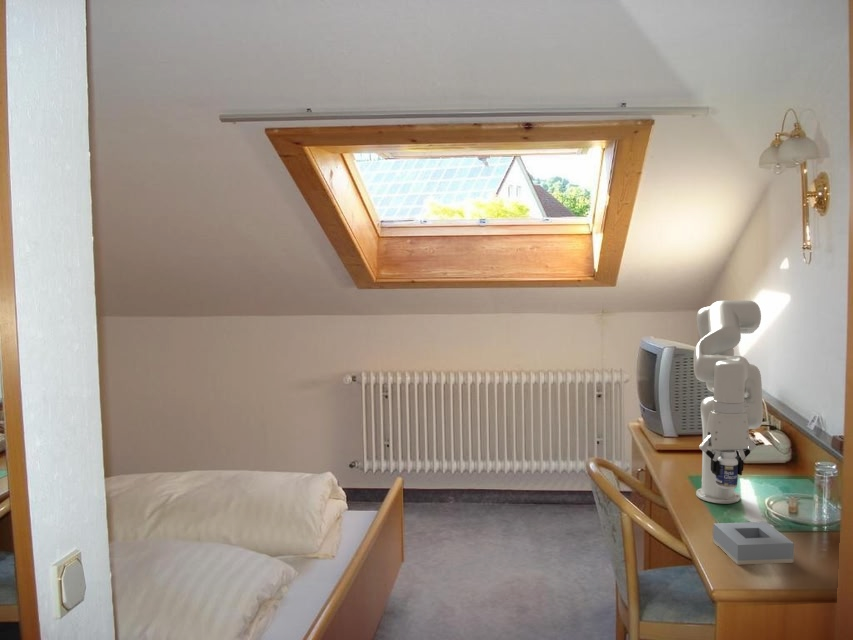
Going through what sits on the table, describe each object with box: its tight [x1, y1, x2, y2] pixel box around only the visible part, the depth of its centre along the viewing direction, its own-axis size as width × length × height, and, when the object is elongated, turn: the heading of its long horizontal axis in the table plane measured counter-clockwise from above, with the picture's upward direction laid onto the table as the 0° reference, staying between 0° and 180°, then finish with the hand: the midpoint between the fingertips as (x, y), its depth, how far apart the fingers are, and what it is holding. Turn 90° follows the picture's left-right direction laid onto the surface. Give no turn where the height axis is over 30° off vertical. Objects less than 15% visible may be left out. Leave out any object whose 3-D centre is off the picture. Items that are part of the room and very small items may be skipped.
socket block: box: [712, 521, 795, 566], centre depth 189 cm, size 14×14×5 cm
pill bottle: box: [716, 450, 739, 489], centre depth 198 cm, size 5×5×10 cm
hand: (726, 473), depth 198 cm, fingers closed on pill bottle, 5 cm apart
